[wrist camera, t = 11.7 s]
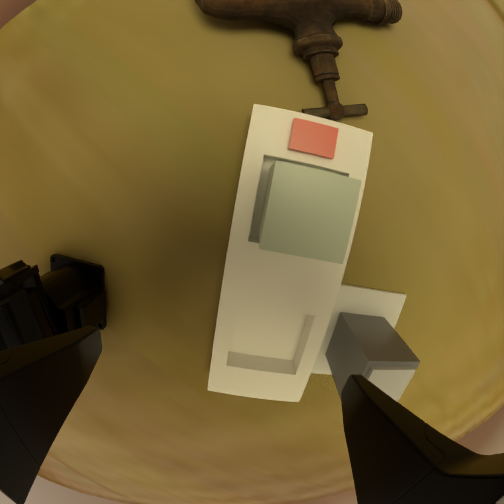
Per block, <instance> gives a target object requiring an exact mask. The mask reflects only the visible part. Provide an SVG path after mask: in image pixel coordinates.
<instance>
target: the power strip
mask: <svg viewBox="0 0 504 504" xmlns="http://www.w3.org/2000/svg"><path fill="white" fill-rule="evenodd" d="M372 137H373V133H371V132H368V131H365V130H362V129H359V128H356V127H353V126H349V125H346V124H343V123H339V122H335V121H332V120H328V119H324V118H320V117H316V116H312V115H308V114H304V113H299V112H295V111H290V110H285V109H280V108H275V107H270V106H264V105H258V104H254V106H253V111H252V116H251V121H250V126H249V131H248V136H247V142H246V147H245V152H244V158H243V163H242V169H241V174H240V180H239V185H238V191H237V197H236V202H235V208H234V214H233V220H232V226H231V232H230V238H229V244H228V250H227V256H226V262H225V269H224V275H223V282H222V288H221V295H220V302H219V308H218V315H217V322H216V329H215V336H214V343H213V351H212V358H211V366H210V373H209V381H208V389H207V390H209V391H214V392H220V393H226V394H232V395H238V396H245V397H252V398H260V399H269V400H279V401H290V402H299V401H300V399H301V396H302V394H303V391H304V389H305V386H306V384H307V381H308V379H309V376H310V374H311V371H312V369H313V366H314V363H315V361H316V358H317V355H318V353H319V350H320V347H321V344H322V341H323V339H324V336H325V333H326V330H327V327H328V324H329V321H330V318H331V315H332V312H333V308H334V305H335V302H336V299H337V295H338V292H339V289H340V285H341V282H342V278H343V275H344V271H345V268H346V264H347V260H348V256H349V252H350V249H351V245H352V240H353V236H354V232H355V228H356V224H357V219H358V215H359V210H360V205H361V201H362V196H363V191H364V185H365V180H366V175H367V169H368V163H369V157H370V150H371V144H372ZM276 160H277V161H282V162H287V163H292V164H296V165H301V166H306V167H310V168H314V169H319V170H323V171H327V172H331V173H335V174H339V175H343V176H347V177H350V178H354V179H358V180H361V187H360V192H359V197H358V202H357V207H356V211H355V216H354V220H353V225H352V229H351V233H350V237H349V242H348V246H347V250H346V254H345V257H344V261H343V264H338V263H333V262H328V261H322V260H317V259H311V258H306V257H300V256H295V255H289V254H284V253H278V252H273V251H267V250H261V249H259V225H260V220H261V215H262V209H263V204H264V198H265V193H266V188H267V182H268V177H269V172H270V167H271V166H272V165H273V163H274V162H275V161H276Z"/></svg>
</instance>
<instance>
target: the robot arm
mask: <svg viewBox="0 0 504 504" xmlns="http://www.w3.org/2000/svg"><path fill="white" fill-rule="evenodd" d="M54 258H55V259H54ZM50 262H51V271H50V272H48V273H46V274H44V275H43V276H41V277H40V276H39V273H38V272H39V269H38V266H37V265H35V266H31V267H30V265H26V264H25V263H24V262H23V261H22V260H20V261H18V262H15V263H13V264H11V265H9V266H7V267H5V268H3V269H1V270H0V491H1V492H2V493H4V494H5V495H6V496H7V497H9V498H10V499H11V500H12V501H14V502H15V503H16V504H24V503H25V500H26V498H27V496H28V493H29V491H30V489H31V487H32V484H33V482H34V480H35V478H36V476H37V474H38V472H39V470H40V466H41V465H42V463H43V461H44V459H45V457H46V455H47V453H48V451H49V449H50V447H51V445H52V443H53V442H54V440H55V438H56V436H57V434H58V432H59V430H60V429H61V427H62V425H63V423H64V421H65V420H66V418H67V416H68V414H69V412H70V411H71V409H72V407H73V406H74V404H75V402H76V400H77V399H78V397H79V395H80V394H81V392H82V390H83V389H84V387H85V385H86V384H87V381H88V379H89V377H90V375H91V373H92V371H93V369H94V367H95V364H96V362H97V360H98V358H99V356H100V354H101V351H102V343H101V335H100V330H103V329H104V328H105V327H106V295H105V290H104V269H103V267H102V266H100V265H97V264H93V263H89V262H85V261H81V260H78V259H74V258H70V257H66V256H62V255H59V254H53V255H51V257H50ZM97 269H98V270H99V272H100V273H98V271H97ZM100 323H101V324H102V325H101V324H100ZM99 329H100V330H99ZM341 403H342V413H343V424H344V432H345V437H346V442H347V447H348V452H349V457H350V462H351V468H352V473H353V479H354V484H355V490H356V496H357V502H358V504H504V453H501V454H494V455H480V454H477V453H475V452H473V451H471V450H469V449H467V448H465V447H464V446H462V445H460V444H458V443H456V442H455V441H453V440H451V439H450V438H448V437H446V436H445V435H443V434H441V433H440V432H438V431H437V430H435V429H434V428H432V427H431V426H430V425H428V424H427V423H425V422H424V421H423V420H421V419H420V418H419V417H417V416H416V415H414V414H413V413H412V412H410V411H409V410H408V409H406V408H405V407H403V406H402V405H401V404H399V403H398V402H397V401H395V400H394V399H393V398H391V397H390V396H389V395H387V394H386V393H385V392H383V391H382V390H381V389H379V388H378V387H377V386H375V385H374V384H373V383H371V382H370V381H369V380H367V379H366V378H365V377H364V376H362V375H360V374H351V375H350V376H349V377H348V379H347V381H346V383H345V385H344V387H343V389H342V392H341Z"/></svg>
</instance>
